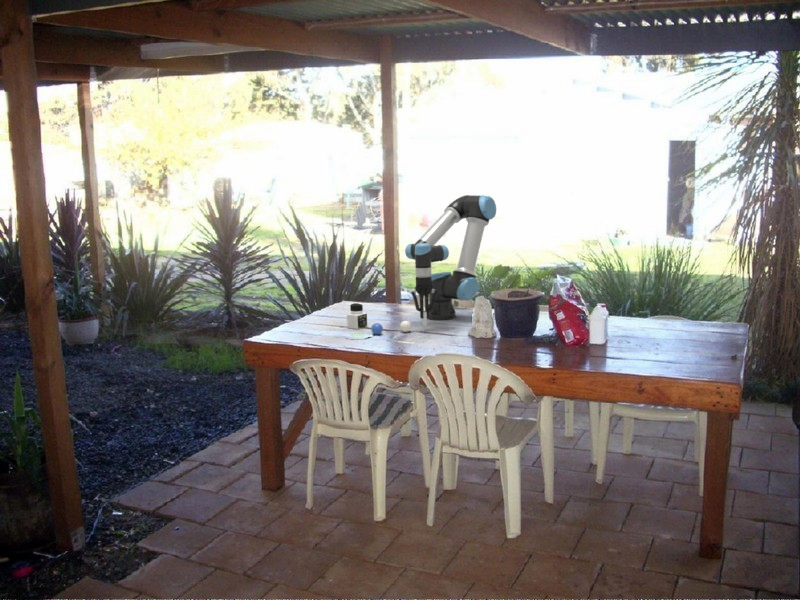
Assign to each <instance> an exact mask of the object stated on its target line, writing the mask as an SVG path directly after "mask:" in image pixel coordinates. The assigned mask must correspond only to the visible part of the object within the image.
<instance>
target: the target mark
mask: <svg viewBox="0 0 800 600" xmlns="http://www.w3.org/2000/svg"><path fill="white" fill-rule="evenodd" d="M365 333H366V334H367V333H369V335H370V333H371V332H351V333H349V334H351V336H352V337H354V338H356V337H357V336H358V337H357V338H359V339H360V338H361V339H362V338H363V337H364V336H365ZM363 335H364V336H363ZM362 340H363V339H362Z"/></svg>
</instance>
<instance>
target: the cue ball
mask: <svg viewBox="0 0 800 600" xmlns="http://www.w3.org/2000/svg"><path fill="white" fill-rule="evenodd" d="M399 329H400V331H402V332H404V333H408V332H410V331H411V329H412V323H411V322H410V321H408V320H403V321H401V323H400V325H399Z"/></svg>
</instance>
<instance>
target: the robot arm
mask: <svg viewBox="0 0 800 600" xmlns="http://www.w3.org/2000/svg"><path fill="white" fill-rule="evenodd" d="M496 214H497V204H496V202H495V199H494V198H493V197H491V196H489V195H483V194H482V195H474V194H473V195H472V194H471V195H469V194H468V195H467V194H466V195H462V196H460V197H458V198H456V199H455V200H453V201H452V202H451V203H449V205H447V206H446V208H445V209H444V211H443V214H442V215H440V217H439V218H438V219H437V220H436V221H435V222H434V223H433V224H432V225H431V226H430V227H429V228H428V229H427V230H426V232H424V234H423V235H422V236H420V238H419V239H418V240H417V241H416V242H415V243H410V244H407V245H406V247H405V249H404V251H405V252H404V253H405V256H406V258H407V259H410V260H414V261H415V263H414V265H415V268H414V269H415V287H414V290H410V294H411V296H412V299H413V302H414V306H415V310H416V311H417V312H419V315H420V316H419V317H420V319H421V321H422V322H421V323H422V325H423V326H428V321H427V320H432V321H434V320H435V321H445V320H446V321H447V320H452V319H455V318H456V317H457V311H456V310H455V309H456V308H455V306H454V304H453V300H458V301H470V300H472V299H473V298H475V296H476V295H477V293H478V291H479V282H478V280H477V278H476V277H477V275H476V274H475V269H476V268H475V267H476V265H477V264H476V263H477V260H478V256H479V252H480V247H481V243H482V239H483V236H484V230H485V227H486V226H489V223H490V220H493V219H494V218H495V217H496ZM463 219H465V220H466V222H467V225H466V229H465V235H464V238H463V242H462V247H461V250H460V256H459V258H458V259H459V260H458V263H457V267H456V269H454V270H453V271H452V272H451V271H443V272H435V273H432V263H436V262H442V261H446V260H447V259H448V258H449V255H450V253H449V252H450V251H449V248H448V247H447V246H446V245H444V244H442V245H441V244H438V245H436V244H437V243H438V242H439V241H440V240H441V238H442V237H443V236H444V235H446V234H447V232H448V231H449V230H450V229H451V228H452V227H453V226H454V225H455V224H458V223H459V222H460V221H462V220H463ZM417 294H418V297H419V302H418V298H417ZM454 317H455V318H454Z"/></svg>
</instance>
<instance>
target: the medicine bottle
mask: <svg viewBox="0 0 800 600" xmlns="http://www.w3.org/2000/svg"><path fill="white" fill-rule="evenodd" d="M349 307H350V312H349V313H347V314H346V318H347V319H346V321H347V323H346V324H347V329H350V330H351V329H352V330H361V328H362V329H364V327H365V328H367V327H368V314H367V312H364V307H363V303H359V302H355V303H351V304H350V306H349Z"/></svg>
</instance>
